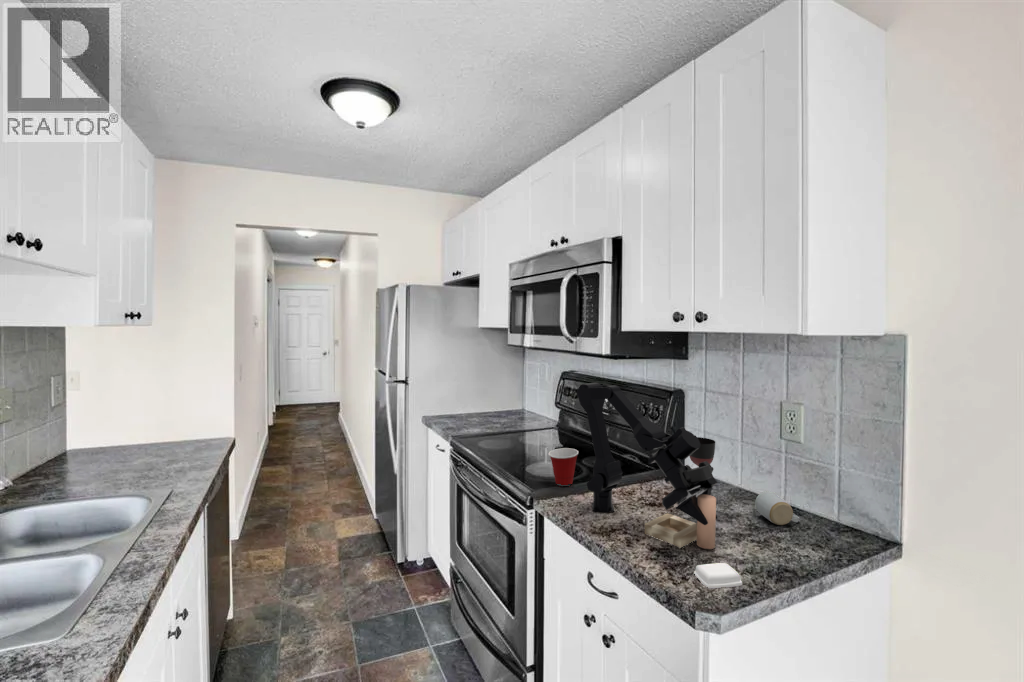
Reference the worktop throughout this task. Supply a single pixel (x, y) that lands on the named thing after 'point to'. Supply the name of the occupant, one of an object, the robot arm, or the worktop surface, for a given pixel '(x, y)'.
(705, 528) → the dowel
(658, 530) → the socket block
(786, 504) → the ceramic mug
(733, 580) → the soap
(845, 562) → the worktop surface
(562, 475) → the plastic cup
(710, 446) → the wineglass
